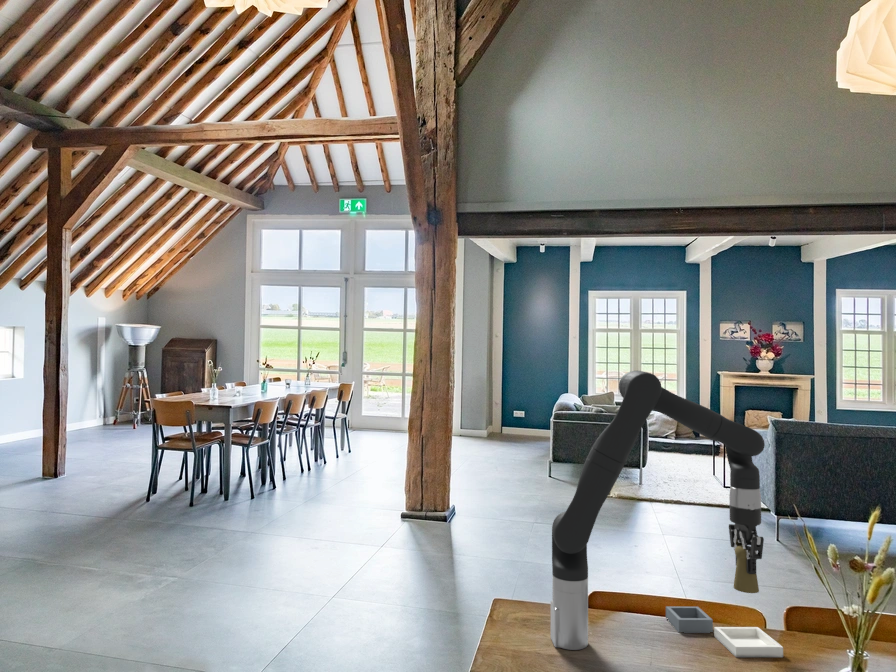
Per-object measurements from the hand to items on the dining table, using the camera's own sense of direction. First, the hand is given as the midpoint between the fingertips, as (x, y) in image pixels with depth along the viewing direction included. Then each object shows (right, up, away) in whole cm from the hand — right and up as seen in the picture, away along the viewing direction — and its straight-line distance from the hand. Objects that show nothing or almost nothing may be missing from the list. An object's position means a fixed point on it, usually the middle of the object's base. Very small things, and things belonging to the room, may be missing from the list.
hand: (745, 569), depth 161 cm
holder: (-10, -20, +12) cm, 25 cm away
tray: (0, -20, -1) cm, 20 cm away
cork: (0, -5, 0) cm, 5 cm away
